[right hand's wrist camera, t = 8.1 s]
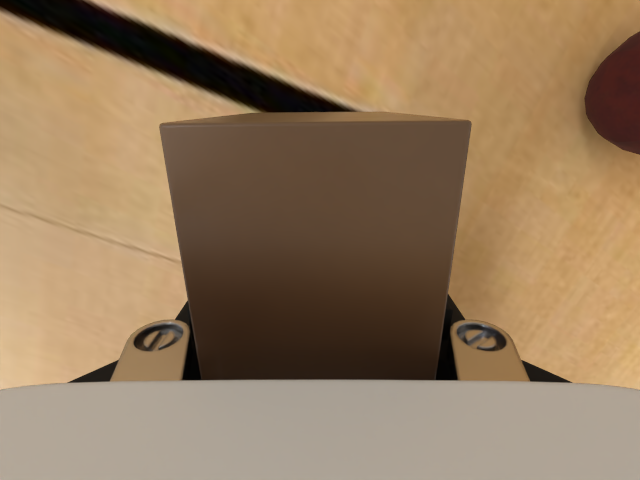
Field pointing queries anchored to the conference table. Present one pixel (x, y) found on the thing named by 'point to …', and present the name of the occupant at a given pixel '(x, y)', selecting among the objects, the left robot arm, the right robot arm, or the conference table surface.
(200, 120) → the bar
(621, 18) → the conference table surface
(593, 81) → the potato
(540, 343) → the conference table surface
